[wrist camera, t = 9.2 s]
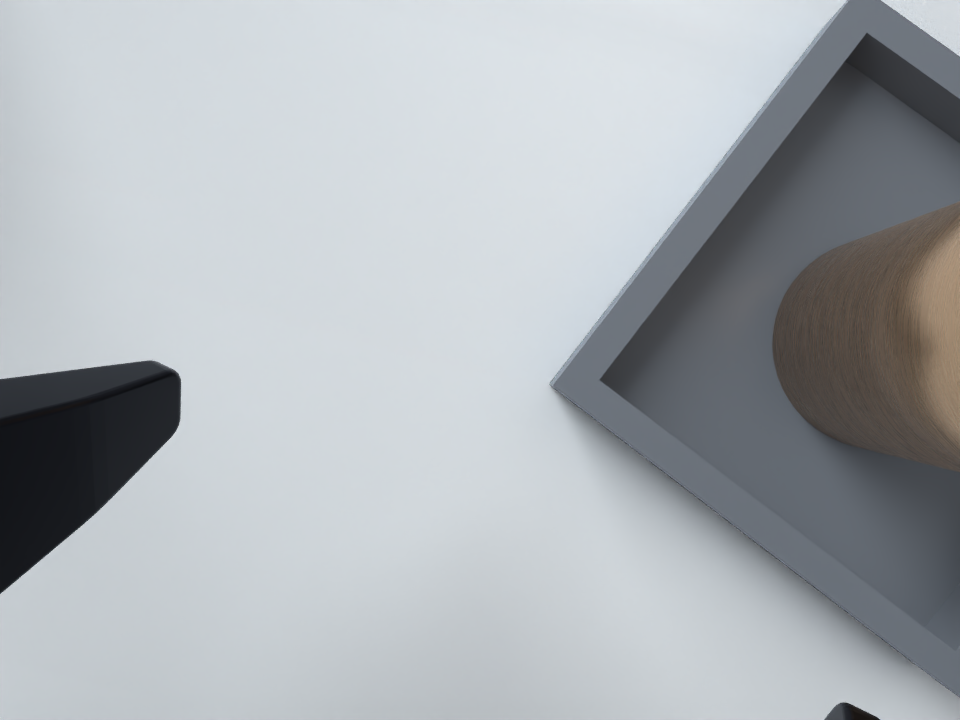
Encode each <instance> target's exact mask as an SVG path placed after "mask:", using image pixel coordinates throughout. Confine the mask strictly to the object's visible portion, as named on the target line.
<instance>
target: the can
mask: <svg viewBox="0 0 960 720" xmlns="http://www.w3.org/2000/svg"><path fill="white" fill-rule="evenodd" d="M772 350H773V359H774V364H775V368H776V372H777V376H778V379H779V381H780V384H781V386H782V389H783V390H784V392H785V394H786V396H787V397H788V399H789V401H790V402H791V404H792V405H793V406H794V408H795V409H796V410H797V412H798V413H799V414H800V415H801V416H802V417H803V418H804V419H805V420H806V421H807V422H808V423H810V424H811V425H812V426H813V427H815V428H816V429H817V430H819V431H820V432H822V433H824V434H825V435H827V436H829V437H830V438H833V439H835V440H837V441H839V442H842V443H844V444H848V445H851V446H855V447H858V448H862V449H866V450H871V451H875V452H879V453H883V454H887V455H891V456H895V457H899V458H903V459H907V460H911V461H916V462H920V463H924V464H928V465H932V466H936V467H940V468H944V469H948V470H952V471H956V472H960V201H959V202H957V203H954V204H951V205H948V206H946V207H943V208H940V209H938V210H935V211H932V212H930V213H927V214H924V215H921V216H919V217H916V218H913V219H911V220H908V221H905V222H903V223H900V224H897V225H894V226H892V227H889V228H886V229H884V230H881V231H878V232H876V233H873V234H870V235H867V236H865V237H862V238H859V239H857V240H854V241H851V242H849V243H846V244H843V245H841V246H838V247H836V248H833V249H832V250H830V251H828V252H826V253H824V254H822V255H821V256H819V257H818V258H817V259H815V260H814V261H813V262H811V263H810V264H809V265H808V266H807V267H806V268H805V269H804V270H803V271H801V272H800V274H799V275H798V276H797V277H796V279H795V280H794V281H793V282H792V283H791V285H790V287H789V288H788V290H787V292H786V293H785V295H784V297H783V299H782V301H781V304H780V306H779V308H778V312H777V315H776V318H775V323H774V329H773V340H772Z"/></svg>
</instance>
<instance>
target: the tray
mask: <svg viewBox="0 0 960 720" xmlns="http://www.w3.org/2000/svg"><path fill="white" fill-rule="evenodd" d="M959 201H960V57H959V56H958V55H957V54H955V53H954V52H952V51H951V50H950V49H948V48H947V47H945V46H944V45H943V44H941V43H940V42H938V41H937V40H936V39H934V38H933V37H931V36H930V35H929V34H927V33H926V32H924V31H923V30H922V29H920V28H919V27H917V26H916V25H915V24H913V23H912V22H910V21H909V20H907V19H906V18H905V17H903V16H902V15H900V14H899V13H898V12H896V11H895V10H893V9H892V8H891V7H889V6H888V5H886V4H885V3H884V2H882V1H881V0H847V1H846V2H845V3H844V5H843V6H842V7H841V8H840V9H839V10H838V11H837V12H836V14H835V15H834V16H833V17H832V18H831V19H830V20H829V21H828V23H827V24H826V25H825V26H824V27H823V29H822V30H821V31H820V33H819V34H818V35H817V36H816V38H815V39H814V40H813V42H812V43H811V44H810V46H809V47H808V48H807V49H806V51H805V52H804V53H803V55H802V56H801V57H800V59H799V60H798V61H797V62H796V64H795V65H794V66H793V68H792V69H791V70H790V72H789V73H788V74H787V75H786V77H785V78H784V79H783V81H782V82H781V83H780V85H779V86H778V87H777V88H776V90H775V91H774V92H773V94H772V95H771V96H770V98H769V99H768V100H767V101H766V103H765V104H764V105H763V107H762V108H761V109H760V111H759V112H758V113H757V114H756V116H755V117H754V118H753V120H752V121H751V122H750V124H749V125H748V126H747V127H746V129H745V130H744V131H743V133H742V134H741V135H740V137H739V138H738V139H737V140H736V142H735V143H734V144H733V146H732V147H731V148H730V150H729V151H728V152H727V153H726V155H725V156H724V157H723V159H722V160H721V161H720V163H719V164H718V165H717V166H716V168H715V169H714V170H713V172H712V173H711V174H710V176H709V177H708V178H707V179H706V181H705V182H704V183H703V185H702V186H701V187H700V189H699V190H698V191H697V193H696V194H695V195H694V196H693V198H692V199H691V200H690V202H689V203H688V204H687V206H686V207H685V208H684V209H683V211H682V212H681V213H680V215H679V216H678V217H677V219H676V220H675V221H674V222H673V224H672V225H671V226H670V228H669V229H668V230H667V232H666V233H665V234H664V235H663V237H662V238H661V239H660V241H659V242H658V243H657V245H656V246H655V247H654V248H653V250H652V251H651V252H650V254H649V255H648V256H647V258H646V259H645V260H644V261H643V263H642V264H641V265H640V267H639V268H638V269H637V271H636V272H635V273H634V274H633V276H632V277H631V278H630V280H629V281H628V282H627V284H626V285H625V286H624V287H623V289H622V290H621V291H620V293H619V294H618V295H617V297H616V298H615V299H614V300H613V302H612V303H611V304H610V306H609V307H608V308H607V310H606V311H605V312H604V313H603V315H602V316H601V317H600V319H599V320H598V321H597V323H596V324H595V325H594V326H593V328H592V329H591V330H590V332H589V333H588V334H587V336H586V337H585V338H584V339H583V341H582V342H581V343H580V345H579V346H578V347H577V349H576V350H575V351H574V352H573V354H572V355H571V356H570V358H569V359H568V360H567V362H566V363H565V364H564V365H563V367H562V368H561V369H560V371H559V372H558V373H557V375H556V376H555V377H554V378H553V380H552V381H551V382H550V384H549V385H551V386H552V387H553V388H555V389H556V390H557V391H558V392H560V393H561V394H562V395H564V396H565V397H566V398H568V399H569V400H570V401H572V402H573V403H574V404H575V405H577V406H578V407H579V408H581V409H582V410H583V411H585V412H586V413H587V414H589V415H590V416H591V417H592V418H594V419H595V420H596V421H598V422H599V423H600V424H602V425H603V426H604V427H606V428H607V429H608V430H609V431H611V432H612V433H613V434H615V435H616V436H617V437H619V438H620V439H621V440H623V441H624V442H625V443H626V444H628V445H629V446H630V447H632V448H633V449H634V450H636V451H637V452H638V453H640V454H641V455H642V456H643V457H645V458H646V459H647V460H649V461H650V462H651V463H653V464H654V465H655V466H657V467H658V468H659V469H660V470H662V471H663V472H664V473H666V474H667V475H668V476H670V477H671V478H672V479H674V480H675V481H676V482H677V483H679V484H680V485H681V486H683V487H684V488H685V489H687V490H688V491H689V492H691V493H692V494H693V495H694V496H696V497H697V498H698V499H700V500H701V501H702V502H704V503H705V504H706V505H708V506H709V507H710V508H711V509H713V510H714V511H715V512H717V513H718V514H719V515H721V516H722V517H723V518H725V519H726V520H727V521H728V522H730V523H731V524H732V525H734V526H735V527H736V528H738V529H739V530H740V531H742V532H743V533H744V534H745V535H747V536H748V537H749V538H751V539H752V540H753V541H755V542H756V543H757V544H759V545H760V546H761V547H762V548H764V549H765V550H766V551H768V552H769V553H770V554H772V555H773V556H774V557H776V558H777V559H778V560H779V561H781V562H782V563H783V564H785V565H786V566H787V567H789V568H790V569H791V570H793V571H794V572H795V573H796V574H798V575H799V576H800V577H802V578H803V579H804V580H806V581H807V582H808V583H810V584H811V585H812V586H813V587H815V588H816V589H817V590H819V591H820V592H821V593H823V594H824V595H825V596H827V597H828V598H829V599H830V600H832V601H833V602H834V603H836V604H837V605H838V606H840V607H841V608H842V609H844V610H845V611H846V612H847V613H849V614H850V615H851V616H853V617H854V618H855V619H857V620H858V621H859V622H861V623H862V624H863V625H864V626H866V627H867V628H868V629H870V630H871V631H872V632H874V633H875V634H876V635H878V636H879V637H880V638H881V639H883V640H884V641H885V642H887V643H888V644H889V645H891V646H892V647H893V648H895V649H896V650H897V651H898V652H900V653H901V654H902V655H904V656H905V657H906V658H908V659H909V660H910V661H911V662H913V663H914V664H915V665H917V666H918V667H919V668H921V669H922V670H923V671H925V672H926V673H927V674H929V675H930V676H932V677H933V678H934V679H936V680H937V681H938V682H940V683H941V684H942V685H944V686H945V687H946V688H948V689H949V690H950V691H952V692H953V693H954V694H956V695H957V696H958V697H960V472H956V471H952V470H948V469H944V468H940V467H936V466H932V465H928V464H924V463H920V462H916V461H911V460H907V459H903V458H899V457H895V456H891V455H887V454H883V453H879V452H875V451H871V450H866V449H862V448H858V447H855V446H851V445H848V444H844V443H842V442H839V441H837V440H835V439H833V438H830V437H829V436H827V435H825V434H824V433H822V432H820V431H819V430H817V429H816V428H815V427H813V426H812V425H811V424H810V423H808V422H807V421H806V420H805V419H804V418H803V417H802V416H801V415H800V414H799V413H798V412H797V410H796V409H795V408H794V406H793V405H792V404H791V402H790V401H789V399H788V397H787V396H786V394H785V392H784V390H783V389H782V386H781V384H780V381H779V379H778V376H777V372H776V368H775V364H774V359H773V350H772V340H773V329H774V323H775V318H776V315H777V312H778V308H779V306H780V304H781V301H782V299H783V297H784V295H785V293H786V292H787V290H788V288H789V287H790V285H791V283H792V282H793V281H794V280H795V279H796V277H797V276H798V275H799V274H800V272H801V271H803V270H804V269H805V268H806V267H807V266H808V265H809V264H810V263H811V262H813V261H814V260H815V259H817V258H818V257H819V256H821V255H822V254H824V253H826V252H828V251H830V250H832V249H833V248H836V247H838V246H841V245H843V244H846V243H849V242H851V241H854V240H857V239H859V238H862V237H865V236H867V235H870V234H873V233H876V232H878V231H881V230H884V229H886V228H889V227H892V226H894V225H897V224H900V223H903V222H905V221H908V220H911V219H913V218H916V217H919V216H921V215H924V214H927V213H930V212H932V211H935V210H938V209H940V208H943V207H946V206H948V205H951V204H954V203H957V202H959Z"/></svg>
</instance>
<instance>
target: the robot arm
mask: <svg viewBox="0 0 960 720" xmlns="http://www.w3.org/2000/svg"><path fill="white" fill-rule="evenodd" d="M180 411H181V379H180V376H179V374H178V373H177V372H176V371H175V370H173V369H171V368H169V367H167V366H165V365H163V364H161V363H159V362H156V361H141V362H133V363H125V364H117V365H110V366H102V367H94V368H86V369H78V370H70V371H62V372H54V373H46V374H38V375H30V376H23V377H15V378H7V379H0V594H1V593H2V592H3V591H4V590H6V589H7V588H8V587H9V586H10V585H12V584H13V583H14V582H15V581H16V580H18V579H19V578H20V577H21V576H22V575H24V574H25V573H26V572H27V571H28V570H29V569H31V568H32V567H33V566H34V565H35V564H37V563H38V562H39V561H40V560H41V559H43V558H44V557H45V556H46V555H47V554H49V553H50V552H51V551H52V550H53V549H54V548H56V547H57V546H58V545H59V544H60V543H62V542H63V541H64V540H65V539H66V538H68V537H69V536H70V535H71V534H72V533H74V532H75V531H76V530H77V529H78V528H80V527H81V526H82V525H83V524H84V523H85V522H86V521H88V520H89V519H90V518H91V517H92V516H93V515H94V514H96V513H97V512H98V511H99V510H100V509H101V508H102V507H103V506H104V505H105V504H106V503H107V502H108V501H109V500H110V499H111V498H112V497H113V496H114V495H115V494H116V493H117V492H118V491H119V490H120V489H121V488H122V487H123V486H124V485H125V484H126V483H127V482H128V481H129V480H130V479H131V478H132V477H133V476H134V475H135V474H136V473H137V472H138V471H139V470H140V468H141V467H142V466H143V465H144V464H145V463H146V462H147V461H148V460H149V459H150V458H151V457H152V456H153V455H154V454H155V453H156V452H157V451H158V450H159V449H160V448H161V447H162V446H163V445H164V444H165V443H166V442H167V441H168V440H169V439H170V438H171V437H172V436H173V434H174V433H175V431H176V430H177V428H178V426H179V422H180ZM824 720H880V719H878V718H877V717H875V716H873V715H871V714H869V713H867V712H865V711H863V710H861V709H859V708H857V707H855V706H853V705H851V704H849V703H839V704H838V705H836V706H835V707H834V708H833V709H832V711H831V712H830V713H829V714H828V716H827V717H826V718H825V719H824Z"/></svg>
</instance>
